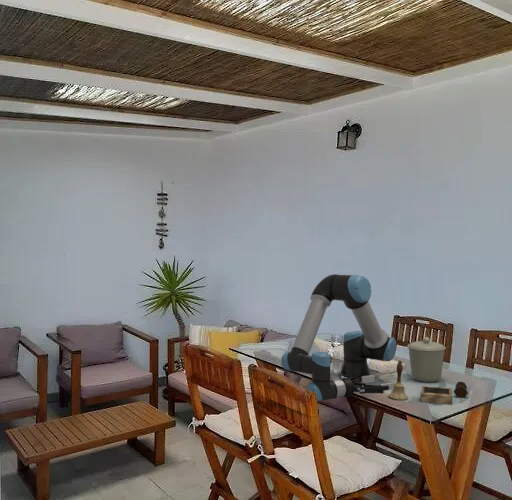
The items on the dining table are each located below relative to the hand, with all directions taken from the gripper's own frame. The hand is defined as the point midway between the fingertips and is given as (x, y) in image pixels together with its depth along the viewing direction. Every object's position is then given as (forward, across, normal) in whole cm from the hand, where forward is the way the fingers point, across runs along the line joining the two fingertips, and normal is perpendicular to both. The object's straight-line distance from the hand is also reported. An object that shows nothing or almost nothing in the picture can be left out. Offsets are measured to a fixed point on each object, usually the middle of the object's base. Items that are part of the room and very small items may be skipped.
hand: (383, 382), depth 227 cm
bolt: (+38, +7, -8) cm, 39 cm away
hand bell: (+8, 0, -8) cm, 11 cm away
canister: (+39, -18, -8) cm, 44 cm away
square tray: (+22, +8, -8) cm, 25 cm away
